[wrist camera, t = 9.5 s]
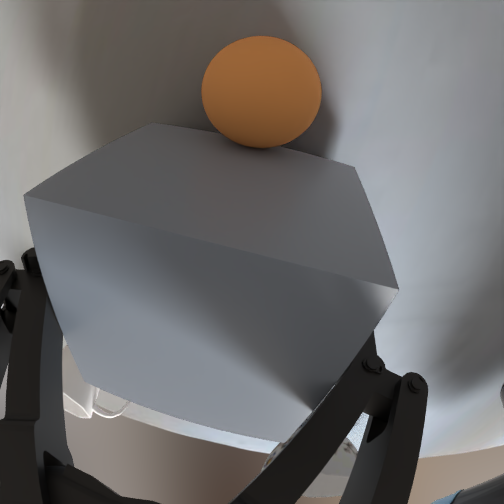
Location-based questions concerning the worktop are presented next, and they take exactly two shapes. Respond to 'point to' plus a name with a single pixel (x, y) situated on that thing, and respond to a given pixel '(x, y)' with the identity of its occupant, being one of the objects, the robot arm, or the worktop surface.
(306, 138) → the worktop surface
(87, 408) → the cup
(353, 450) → the teacup
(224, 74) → the ball
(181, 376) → the matte grey cuboid
